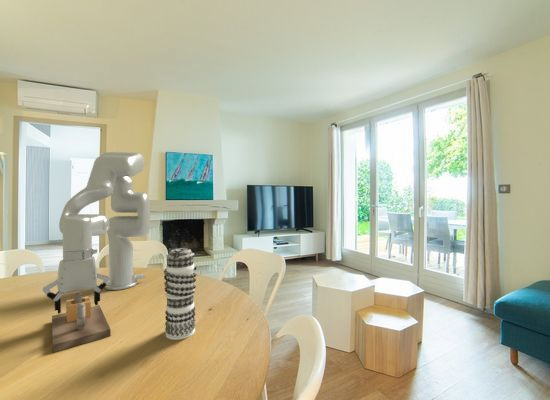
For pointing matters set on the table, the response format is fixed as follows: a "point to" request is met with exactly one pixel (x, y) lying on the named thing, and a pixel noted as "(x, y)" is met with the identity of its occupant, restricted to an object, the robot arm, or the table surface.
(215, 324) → the table surface
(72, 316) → the collar
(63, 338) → the post board
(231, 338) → the table surface
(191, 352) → the table surface
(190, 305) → the decorative candle
